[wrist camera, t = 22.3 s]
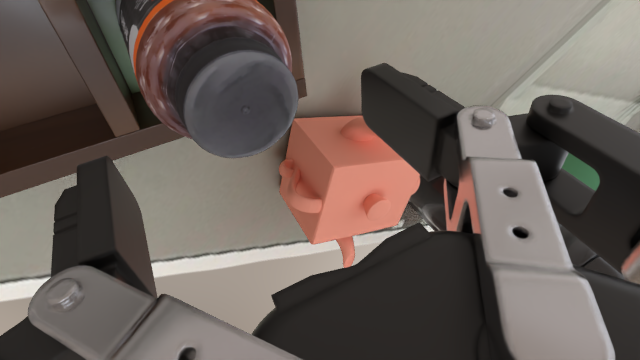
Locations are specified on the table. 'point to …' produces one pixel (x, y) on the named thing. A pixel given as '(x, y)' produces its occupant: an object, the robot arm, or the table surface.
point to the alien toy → (581, 171)
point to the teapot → (343, 180)
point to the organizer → (80, 88)
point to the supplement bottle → (212, 70)
